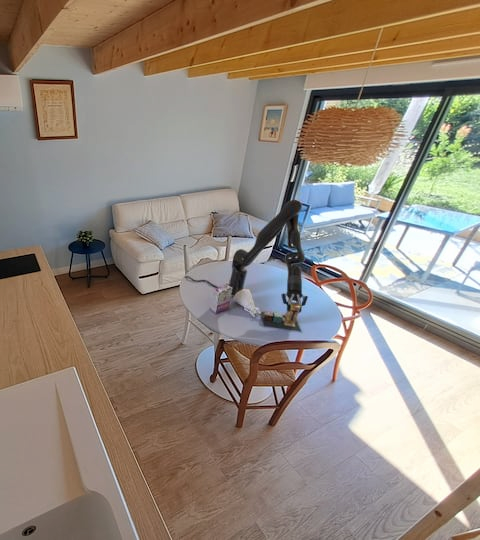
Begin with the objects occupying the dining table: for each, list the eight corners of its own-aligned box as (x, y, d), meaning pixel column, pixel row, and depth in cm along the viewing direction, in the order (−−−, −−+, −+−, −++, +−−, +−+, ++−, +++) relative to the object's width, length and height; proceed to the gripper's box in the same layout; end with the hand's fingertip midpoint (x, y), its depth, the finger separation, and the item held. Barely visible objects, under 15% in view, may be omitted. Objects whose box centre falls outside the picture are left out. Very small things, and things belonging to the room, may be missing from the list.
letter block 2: (272, 322, 173) (274, 316, 171) (271, 317, 177) (273, 311, 174) (280, 323, 172) (283, 317, 170) (279, 318, 176) (281, 312, 173)
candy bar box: (223, 304, 189) (227, 284, 181) (228, 308, 185) (233, 287, 177) (210, 309, 185) (214, 288, 177) (215, 313, 181) (220, 292, 173)
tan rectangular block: (286, 322, 171) (291, 306, 165) (284, 317, 175) (289, 301, 169) (294, 323, 170) (300, 307, 164) (292, 318, 174) (298, 302, 168)
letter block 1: (263, 320, 174) (264, 314, 172) (261, 316, 178) (263, 310, 176) (271, 321, 173) (273, 315, 171) (269, 317, 177) (271, 311, 175)
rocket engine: (263, 306, 171) (246, 286, 184) (246, 317, 174) (231, 296, 187) (268, 314, 178) (251, 293, 191) (252, 324, 181) (236, 303, 194)
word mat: (264, 326, 170) (264, 326, 170) (260, 312, 182) (260, 311, 181) (301, 332, 165) (301, 331, 165) (294, 317, 177) (294, 316, 177)
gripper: (305, 286, 173) (304, 314, 168) (279, 283, 176) (278, 311, 172) (310, 283, 165) (310, 312, 161) (283, 281, 169) (282, 309, 165)
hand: (294, 311), depth 167 cm, fingers closed on tan rectangular block, 4 cm apart
